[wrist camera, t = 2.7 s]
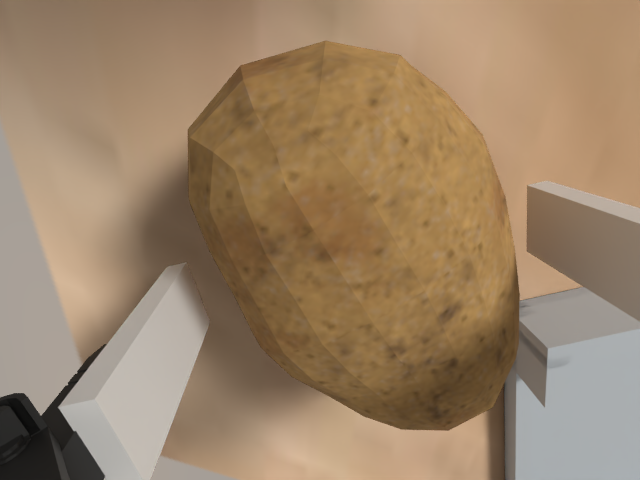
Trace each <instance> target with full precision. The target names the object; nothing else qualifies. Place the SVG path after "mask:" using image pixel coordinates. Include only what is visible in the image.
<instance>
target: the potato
mask: <svg viewBox="0 0 640 480" xmlns="http://www.w3.org/2000/svg"><path fill="white" fill-rule="evenodd" d="M188 197H189V201H190V205H191V207H192V210H193V212H194V214H195V217H196V219H197V222H198V224H199V226H200V229H201V231H202V234H203V236H204V239H205V241H206V243H207V246H208V248H209V251H210V253H211V255H212V256H213V258H214V260H215V262H216V264H217V266H218V267H219V269H220V271H221V273H222V275H223V276H224V278H225V280H226V282H227V284H228V286H229V287H230V289H231V291H232V293H233V295H234V296H235V298H236V300H237V302H238V304H239V306H240V308H241V310H242V312H243V314H244V316H245V318H246V320H247V322H248V324H249V326H250V328H251V330H252V332H253V334H254V336H255V338H256V339H257V341H258V343H259V345H260V346H261V348H262V349H263V350H264V351H265V352H266V353H267V354H268V355H269V356H270V357H271V358H272V359H273V360H274V361H275V362H277V363H278V364H279V365H280V366H281V367H282V368H283V369H284V370H285V371H286V372H287V373H288V374H289V375H290V376H291V377H293V378H295V379H297V380H299V381H301V382H303V383H305V384H307V385H309V386H311V387H313V388H314V389H316V390H318V391H320V392H322V393H324V394H326V395H328V396H330V397H331V398H333V399H335V400H337V401H338V402H340V403H342V404H343V405H345V406H347V407H349V408H350V409H352V410H354V411H356V412H357V413H359V414H361V415H362V416H364V417H367V418H370V419H373V420H376V421H379V422H382V423H385V424H388V425H390V426H393V427H396V428H399V429H408V430H447V431H448V430H450V429H452V428H454V427H456V426H458V425H460V424H462V423H464V422H466V421H468V420H469V419H471V418H473V417H475V416H477V415H479V414H481V413H483V412H485V411H487V410H489V409H491V408H493V406H494V404H495V402H496V400H497V398H498V395H499V393H500V391H501V389H502V387H503V385H504V383H505V381H506V378H507V376H508V374H509V372H510V370H511V368H512V366H513V363H514V361H515V359H516V355H517V350H518V345H519V296H520V295H519V285H518V276H517V266H516V257H515V248H514V243H513V237H512V232H511V226H510V221H509V215H508V210H507V204H506V199H505V195H504V192H503V189H502V187H501V184H500V181H499V179H498V176H497V173H496V170H495V168H494V165H493V162H492V159H491V157H490V154H489V151H488V149H487V146H486V143H485V140H484V138H483V135H482V133H481V132H480V131H479V130H478V129H477V128H476V126H475V125H474V124H473V123H472V122H471V121H470V119H469V118H468V117H467V116H466V115H465V114H464V112H463V111H462V110H461V109H460V108H459V107H458V106H457V104H456V103H455V102H454V101H453V100H452V99H451V97H450V96H449V95H448V94H447V93H446V92H445V91H444V90H443V89H441V88H440V87H439V86H438V85H436V84H435V83H434V82H432V81H431V80H430V79H428V78H427V77H426V76H424V75H423V74H422V73H420V72H419V71H418V70H416V69H415V68H414V67H412V66H411V65H410V64H409V63H408V62H407V61H406V60H405V59H404V58H403V57H402V56H401V55H397V54H391V53H386V52H381V51H376V50H371V49H365V48H360V47H355V46H350V45H344V44H339V43H334V42H329V41H323V42H320V43H316V44H313V45H310V46H306V47H303V48H299V49H296V50H292V51H289V52H286V53H282V54H279V55H275V56H272V57H268V58H265V59H261V60H258V61H255V62H251V63H248V64H244V65H241V66H240V67H239V68H238V69H237V70H236V72H235V73H234V74H233V75H232V76H231V78H230V79H229V80H228V81H227V83H226V84H225V85H224V86H223V87H222V89H221V90H220V91H219V92H218V93H217V95H216V96H215V97H214V98H213V100H212V101H211V102H210V103H209V104H208V106H207V107H206V108H205V109H204V110H203V112H202V113H201V114H200V115H199V117H198V118H197V119H196V120H195V121H194V123H193V124H192V125H191V126H190V127H189V129H188Z"/></svg>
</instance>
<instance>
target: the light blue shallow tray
mask: <svg viewBox="0 0 640 480" xmlns="http://www.w3.org/2000/svg"><path fill="white" fill-rule="evenodd" d="M504 420H505V480H640V322H639V321H638V320H636V319H635V318H633V317H631V316H630V315H628V314H627V313H625V312H623V311H622V310H620V309H619V308H617V307H615V306H614V305H612V304H611V303H609V302H607V301H606V300H604V299H603V298H601V297H599V296H598V295H596V294H595V293H593V292H591V291H590V290H588V289H587V288H585V287H581V288H577V289H572V290H568V291H563V292H559V293H554V294H549V295H545V296H540V297H536V298H531V299H526V300H522V301H519V345H518V350H517V355H516V359H515V361H514V363H513V366H512V368H511V370H510V372H509V374H508V376H507V378H506V381H505V383H504Z"/></svg>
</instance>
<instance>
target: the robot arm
mask: <svg viewBox="0 0 640 480" xmlns="http://www.w3.org/2000/svg"><path fill="white" fill-rule="evenodd" d="M527 252H529V253H530V254H532V255H534V256H535V257H537V258H538V259H540V260H542V261H543V262H545V263H547V264H548V265H550V266H551V267H553V268H555V269H556V270H558V271H559V272H561V273H563V274H564V275H566V276H567V277H569V278H571V279H572V280H574V281H575V282H577V283H579V284H580V285H582V286H583V287H585V288H587V289H588V290H590V291H591V292H593V293H595V294H596V295H598V296H599V297H601V298H603V299H604V300H606V301H607V302H609V303H611V304H612V305H614V306H615V307H617V308H619V309H620V310H622V311H623V312H625V313H627V314H628V315H630V316H631V317H633V318H635V319H636V320H638V321H639V322H640V208H637V207H634V206H630V205H627V204H624V203H620V202H617V201H614V200H610V199H607V198H604V197H600V196H597V195H594V194H590V193H587V192H583V191H580V190H577V189H573V188H570V187H567V186H563V185H560V184H557V183H553V182H550V181H544V182H539V183H535V184H530V185H527ZM209 324H210V320H209V318H208V315H207V312H206V310H205V307H204V305H203V302H202V300H201V297H200V295H199V292H198V289H197V287H196V284H195V282H194V279H193V277H192V274H191V272H190V269H189V267H188V264H187V262H185V263H181V264H176V265H172V266H168V267H166V269H165V270H164V271H163V273H162V274H161V275H160V276H159V278H158V279H157V280H156V282H155V283H154V284H153V285H152V287H151V288H150V289H149V291H148V292H147V293H146V294H145V296H144V297H143V298H142V300H141V301H140V302H139V304H138V305H137V306H136V307H135V309H134V310H133V311H132V313H131V314H130V315H129V316H128V318H127V319H126V320H125V322H124V323H123V324H122V325H121V327H120V328H119V329H118V331H117V332H116V333H115V334H114V336H113V337H112V338H111V340H110V341H109V342H108V344H105V345H103V346H102V347H101V348H100V349H98V350H97V351H96V352H95V353H93V354H92V355H91V356H90V357H89V358H88V359H87V360H86V361H85V362H84V364H83V365H82V366H81V367H80V369H79V370H78V371H77V372H78V373H77V374H75V375H74V376H73V377H72V379H71V380H70V381H69V382H68V385H67V386H65V387H64V389H63V390H62V391H61V393H59V395H58V396H57V397H56V399H55V400H54V401H53V402H52V403H51V405H50V406H49V407H48V408H47V410H46V411H45V412H44V413H43V414H42V416H40V414H39V413H38V411H37V410H36V409H35V407H34V406H33V404H32V403H31V401H30V400H29V398H28V397H27V396H26V395H25V394H24V393H14V394H11V395H7V396H4V397H1V398H0V480H104V478H105V479H106V480H151V478H152V475H153V472H154V470H155V467H156V464H157V461H158V459H159V456H160V454H161V451H162V448H163V446H164V443H165V441H166V438H167V435H168V433H169V430H170V427H171V425H172V422H173V419H174V417H175V414H176V411H177V409H178V406H179V404H180V401H181V398H182V396H183V393H184V390H185V388H186V385H187V382H188V380H189V377H190V374H191V372H192V369H193V366H194V364H195V361H196V359H197V356H198V353H199V351H200V348H201V345H202V343H203V340H204V337H205V335H206V332H207V329H208V327H209Z"/></svg>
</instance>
